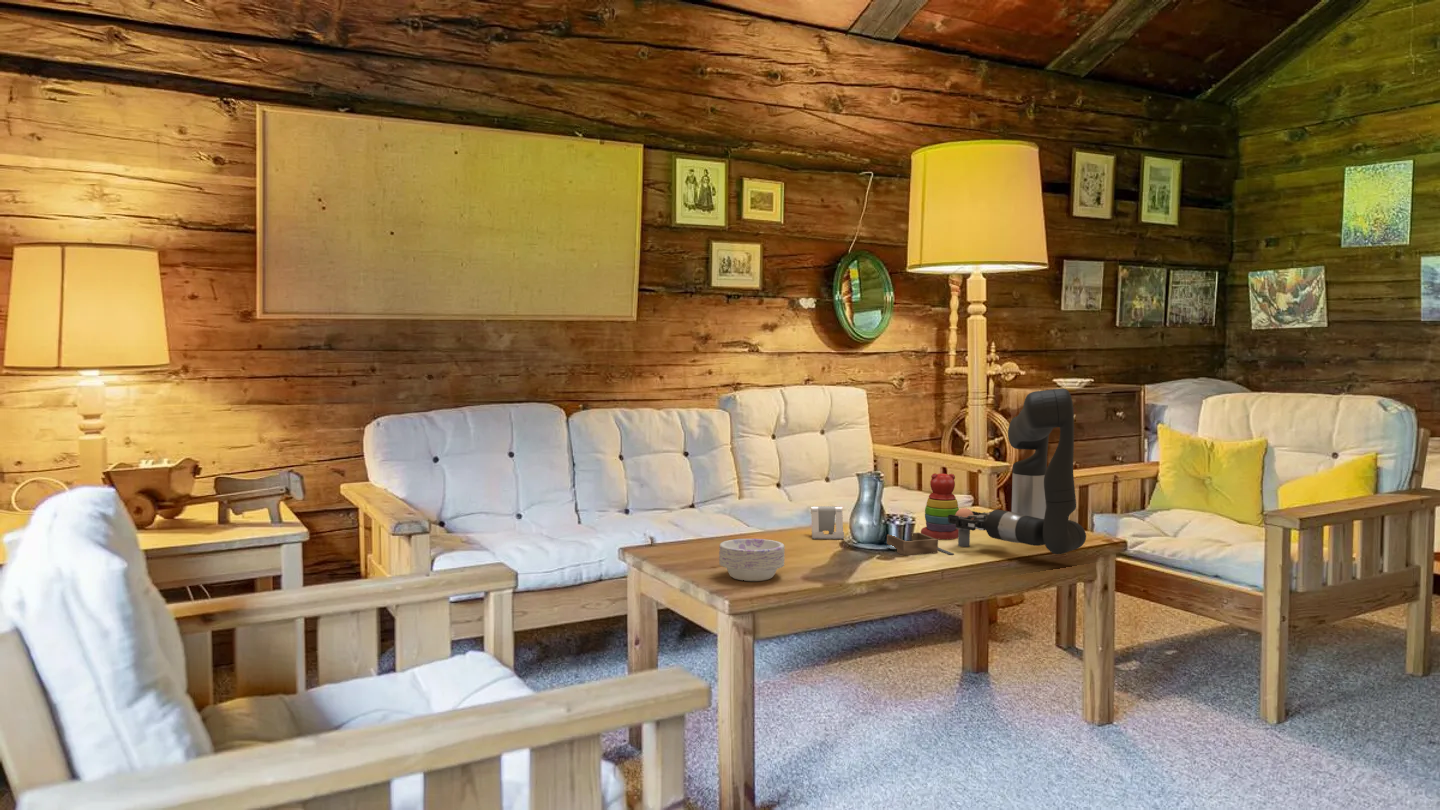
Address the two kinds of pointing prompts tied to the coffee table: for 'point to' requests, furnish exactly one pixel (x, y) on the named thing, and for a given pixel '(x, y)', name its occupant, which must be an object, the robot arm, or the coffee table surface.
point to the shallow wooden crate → (914, 544)
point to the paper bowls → (751, 558)
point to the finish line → (945, 551)
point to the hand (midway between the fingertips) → (959, 516)
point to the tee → (963, 537)
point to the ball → (964, 512)
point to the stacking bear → (941, 508)
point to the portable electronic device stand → (827, 522)
